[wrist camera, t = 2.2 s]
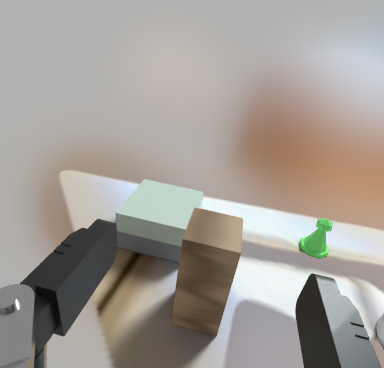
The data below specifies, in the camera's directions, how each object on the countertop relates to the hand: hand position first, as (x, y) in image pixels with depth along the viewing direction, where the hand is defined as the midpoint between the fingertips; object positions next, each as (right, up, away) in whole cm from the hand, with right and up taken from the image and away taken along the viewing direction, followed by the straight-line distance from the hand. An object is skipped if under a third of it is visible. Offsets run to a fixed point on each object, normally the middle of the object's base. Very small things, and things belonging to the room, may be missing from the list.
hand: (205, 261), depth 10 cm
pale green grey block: (-5, -5, +29) cm, 30 cm away
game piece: (+19, -7, +31) cm, 37 cm away
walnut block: (0, -11, +19) cm, 22 cm away
